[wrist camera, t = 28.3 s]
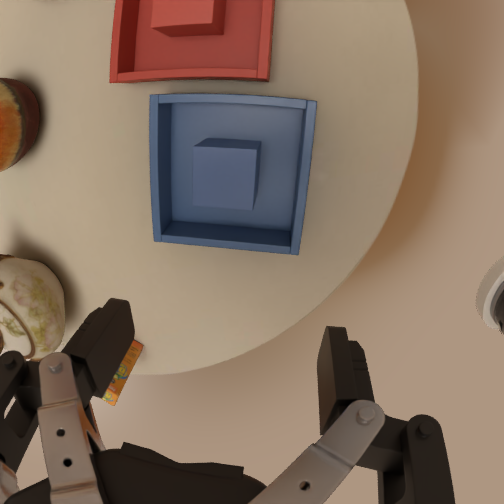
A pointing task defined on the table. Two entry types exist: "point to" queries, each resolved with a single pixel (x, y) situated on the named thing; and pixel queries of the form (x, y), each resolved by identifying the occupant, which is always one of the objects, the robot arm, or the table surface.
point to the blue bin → (270, 169)
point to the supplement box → (122, 373)
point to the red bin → (192, 46)
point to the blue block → (225, 173)
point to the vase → (16, 121)
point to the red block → (188, 17)
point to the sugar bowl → (30, 308)
